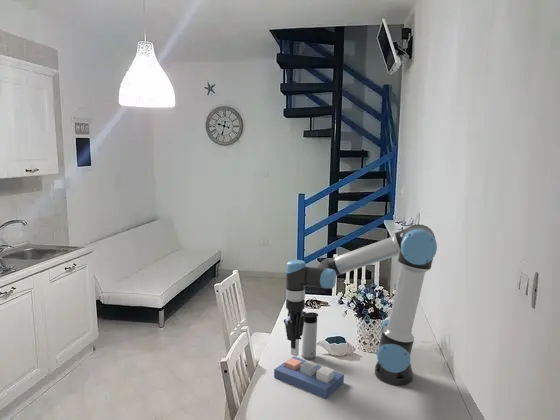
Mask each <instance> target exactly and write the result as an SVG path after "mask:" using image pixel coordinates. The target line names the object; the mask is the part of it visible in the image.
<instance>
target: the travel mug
mask: <svg viewBox="0 0 560 420" xmlns="http://www.w3.org/2000/svg"><path fill="white" fill-rule="evenodd" d="M318 317H319V313H316V312H311V311H310V312H306V316H305V320H304V327H303V334H302V336H301V341H302V342H301V343H302V344H301V358H302V359H303V360H307V361H309V360H314V359H315V358H316V357H317V333H318V331H317V329H318Z"/></svg>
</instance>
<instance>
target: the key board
mask: <svg viewBox="0 0 560 420" xmlns="http://www.w3.org/2000/svg"><path fill="white" fill-rule="evenodd" d="M291 358H294V359H297V360H299V361H302V364H303V363H304V362H306V361H307V360H306V359H304V358H299V357H297V356H292V357H291ZM285 362H286V361H284V362H283V363H281V364H280V365H278V366H276V367H275V368H274V369H273V371H274V372H273V378H275V379H277V380H280V381H282V382H285V383H287V384H289V385H292V386H294V387H297V388H299V389H301V390H304V391H307V392H309V393H311V394H314V395H316V396H319V397H321V398H324V399H327V398H329V396H330V395H331V394H333V393H334V392H335V391H336V390H337V389H338V388H339V387H340V386H342V385H343V384H344V381H345V374H344V373H341V372H338V371H335V370H334V379H333V380H332V381H331V382H329V383H328V384H327V383H325V382H322V381H319V380H317V379H316V374H315V375H313V376H312V377H309V376H307V375H304V374H301V373H300V368H299V369H298V370H296V371H294V370H291V369H288V368H286V367H285ZM321 367H323V366H322V365H318V370H319V369H320V368H321Z"/></svg>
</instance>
